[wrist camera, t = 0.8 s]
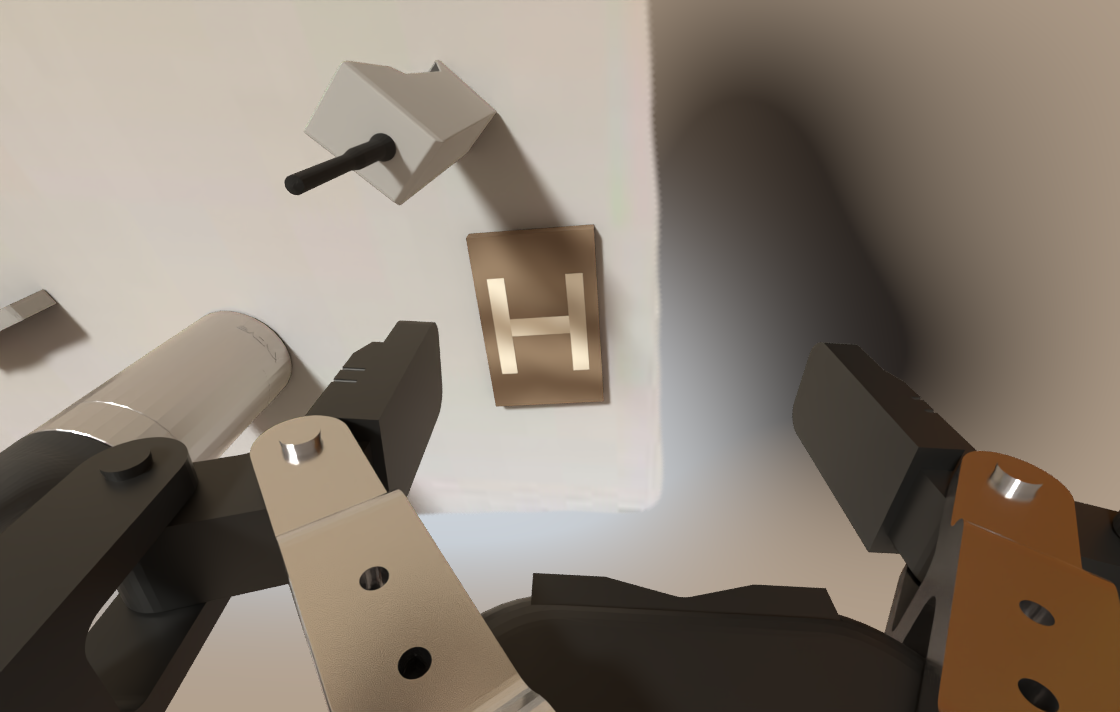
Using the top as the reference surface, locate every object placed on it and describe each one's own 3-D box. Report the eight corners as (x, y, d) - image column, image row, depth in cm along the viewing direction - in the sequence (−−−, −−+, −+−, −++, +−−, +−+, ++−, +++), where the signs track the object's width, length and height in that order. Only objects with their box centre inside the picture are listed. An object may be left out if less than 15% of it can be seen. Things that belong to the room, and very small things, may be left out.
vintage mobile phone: (439, 59, 36) (220, 58, 14) (497, 111, 38) (376, 180, 16) (411, 105, 38) (172, 166, 16) (467, 152, 39) (319, 269, 17)
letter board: (603, 394, 49) (603, 401, 48) (497, 399, 50) (496, 406, 49) (593, 224, 41) (593, 228, 40) (469, 233, 42) (466, 238, 41)
